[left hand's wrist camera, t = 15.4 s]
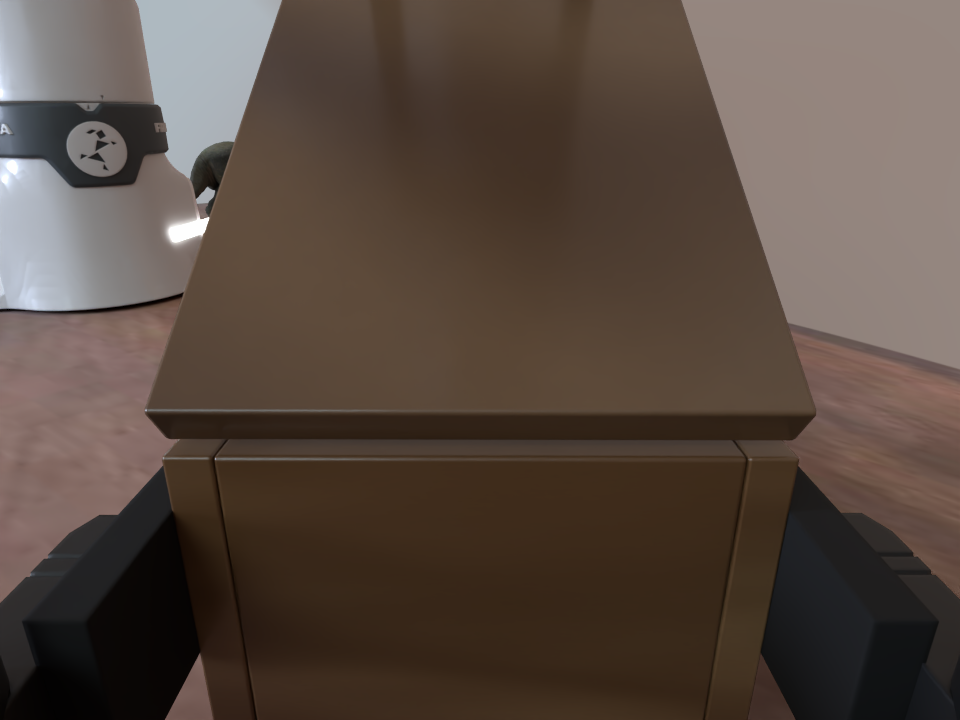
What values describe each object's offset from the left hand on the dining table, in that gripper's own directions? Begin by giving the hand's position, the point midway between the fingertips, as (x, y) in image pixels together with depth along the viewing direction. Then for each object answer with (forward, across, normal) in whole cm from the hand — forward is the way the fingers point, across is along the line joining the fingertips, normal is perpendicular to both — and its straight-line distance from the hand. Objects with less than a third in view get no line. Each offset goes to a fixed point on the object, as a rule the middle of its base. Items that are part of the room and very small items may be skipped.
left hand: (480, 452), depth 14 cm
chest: (+3, 0, -6) cm, 7 cm away
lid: (+2, 0, +6) cm, 7 cm away
